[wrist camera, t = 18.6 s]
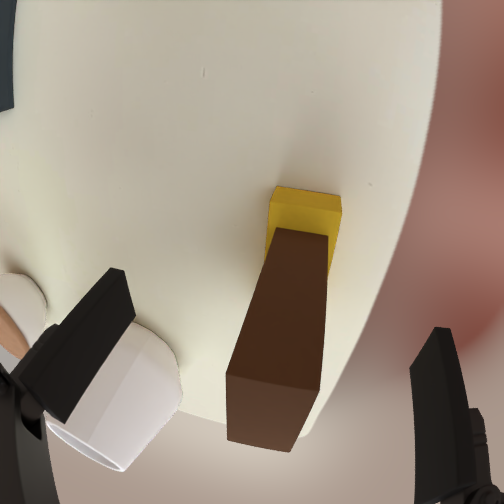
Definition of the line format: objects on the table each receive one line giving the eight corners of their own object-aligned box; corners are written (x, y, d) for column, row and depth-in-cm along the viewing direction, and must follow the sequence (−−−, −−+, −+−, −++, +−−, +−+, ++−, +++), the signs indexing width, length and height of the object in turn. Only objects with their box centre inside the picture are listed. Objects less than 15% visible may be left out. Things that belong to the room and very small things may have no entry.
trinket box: (60, 334, 36) (25, 380, 29) (12, 294, 36) (-25, 333, 28) (58, 288, 30) (10, 342, 23) (4, 244, 30) (-44, 286, 22)
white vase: (86, 340, 35) (31, 420, 23) (103, 282, 27) (17, 388, 16) (170, 395, 37) (130, 483, 25) (216, 357, 29) (166, 483, 18)
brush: (276, 185, 19) (207, 339, 8) (340, 195, 18) (348, 365, 8) (265, 297, 24) (217, 447, 13) (316, 306, 23) (294, 463, 13)
